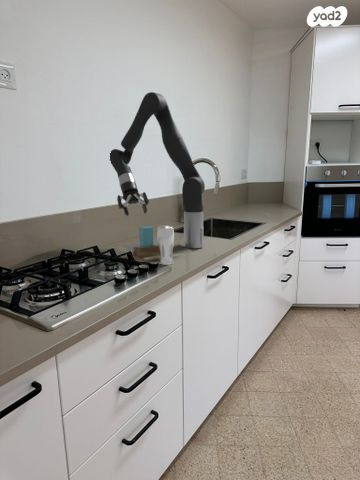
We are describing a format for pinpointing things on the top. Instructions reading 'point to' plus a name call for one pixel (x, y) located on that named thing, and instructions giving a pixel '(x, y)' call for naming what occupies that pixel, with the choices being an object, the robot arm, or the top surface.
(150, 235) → the teal block
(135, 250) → the walnut bracket
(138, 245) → the pad
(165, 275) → the top surface
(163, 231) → the beer glass
